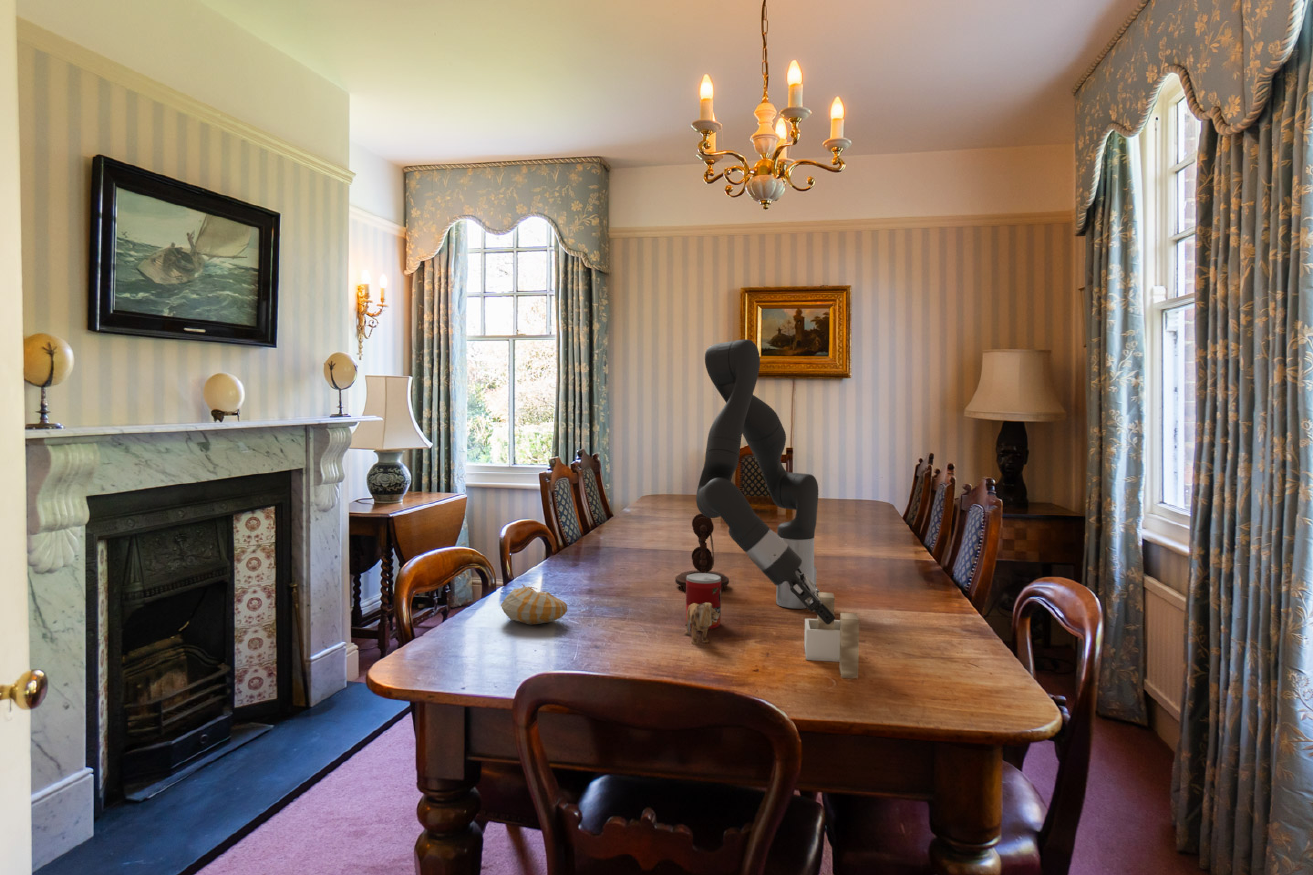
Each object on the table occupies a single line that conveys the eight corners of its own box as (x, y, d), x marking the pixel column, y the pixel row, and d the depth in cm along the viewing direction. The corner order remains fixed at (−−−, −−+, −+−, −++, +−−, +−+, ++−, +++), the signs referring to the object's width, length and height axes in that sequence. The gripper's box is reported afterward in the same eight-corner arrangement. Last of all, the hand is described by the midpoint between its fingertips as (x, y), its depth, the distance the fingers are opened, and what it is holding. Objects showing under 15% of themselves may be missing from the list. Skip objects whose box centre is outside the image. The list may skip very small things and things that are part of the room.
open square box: (806, 659, 146) (806, 629, 145) (804, 646, 154) (804, 618, 153) (847, 662, 145) (847, 631, 144) (843, 649, 152) (843, 620, 152)
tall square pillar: (818, 651, 147) (819, 597, 147) (816, 645, 151) (817, 592, 151) (833, 652, 147) (834, 597, 146) (831, 646, 151) (832, 592, 150)
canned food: (718, 630, 165) (719, 581, 164) (683, 627, 166) (683, 579, 166) (722, 620, 172) (723, 573, 172) (688, 618, 174) (689, 572, 173)
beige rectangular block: (841, 677, 136) (842, 618, 136) (839, 670, 140) (840, 612, 140) (858, 678, 136) (859, 619, 135) (855, 671, 140) (856, 613, 139)
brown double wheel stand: (731, 594, 196) (732, 519, 196) (675, 593, 197) (676, 519, 196) (726, 581, 211) (727, 511, 210) (674, 580, 211) (675, 511, 211)
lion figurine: (721, 647, 153) (722, 604, 153) (697, 649, 151) (698, 606, 151) (696, 627, 167) (696, 587, 167) (674, 629, 165) (674, 589, 165)
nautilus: (502, 610, 181) (563, 611, 184) (497, 631, 160) (567, 632, 162) (504, 578, 181) (565, 579, 184) (499, 594, 160) (569, 595, 163)
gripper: (787, 550, 142) (847, 612, 141) (786, 537, 156) (840, 593, 155) (759, 576, 143) (818, 638, 142) (760, 561, 157) (814, 617, 156)
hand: (830, 615), depth 149 cm, fingers open, 8 cm apart
